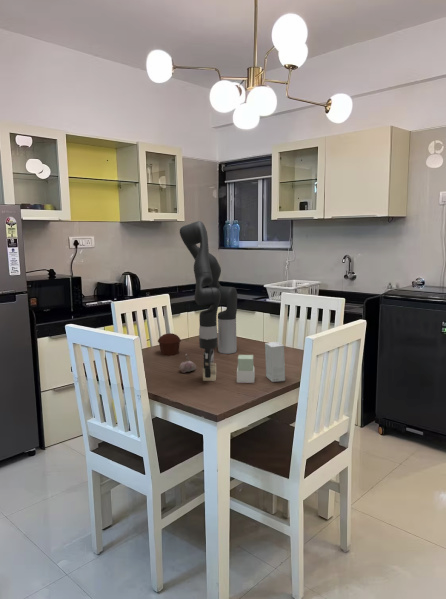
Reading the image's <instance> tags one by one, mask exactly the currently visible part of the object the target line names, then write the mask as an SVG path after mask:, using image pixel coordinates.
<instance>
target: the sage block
mask: <svg viewBox="0 0 446 599" xmlns="http://www.w3.org/2000/svg"><path fill="white" fill-rule="evenodd" d="M253 366H254V354H238V356H237V367H238V371H253Z"/></svg>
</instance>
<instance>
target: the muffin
mask: <svg viewBox="0 0 446 599" xmlns="http://www.w3.org/2000/svg"><path fill="white" fill-rule="evenodd" d="M181 341H182V340H181V337H180V336H179V335H177V334H175V333H172V332H171V333H170V332H169V333H164V334H162V335H161V336H160V337H159V338H158V340H157V342H158V344H159V349H160V354H161V355H163V356H168V357H169V356H170V357H171V356H176V355H178V354H179V353H180V352H179V350H180V343H181Z"/></svg>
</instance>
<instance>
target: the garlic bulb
mask: <svg viewBox="0 0 446 599" xmlns="http://www.w3.org/2000/svg"><path fill="white" fill-rule="evenodd" d="M184 355H185V359H186V360H185V361H182V362H181V363H180V364H179V366H178V369H179V371H180V372H181V373H182V374H185V373H189V372H191V371H195V370H196V369H197V365H196V364H195V363H194V362H193V361H191V360H190V359H189V356H188V353H185V354H184Z"/></svg>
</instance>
